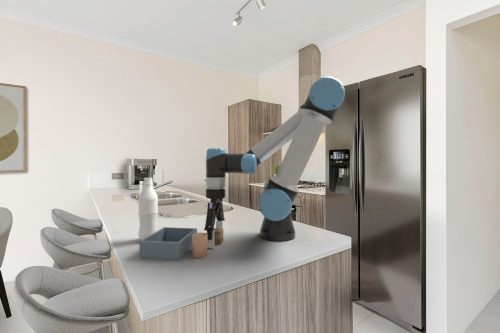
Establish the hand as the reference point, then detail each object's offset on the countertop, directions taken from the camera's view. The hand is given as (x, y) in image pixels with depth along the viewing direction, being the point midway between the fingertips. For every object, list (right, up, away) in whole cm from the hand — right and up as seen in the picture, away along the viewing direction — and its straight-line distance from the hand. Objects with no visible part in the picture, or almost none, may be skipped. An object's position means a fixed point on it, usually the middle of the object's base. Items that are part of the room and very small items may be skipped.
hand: (215, 241), depth 99 cm
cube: (0, 0, 0) cm, 0 cm away
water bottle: (-27, 0, +2) cm, 27 cm away
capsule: (-3, 0, -14) cm, 14 cm away
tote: (-15, 0, -8) cm, 17 cm away
